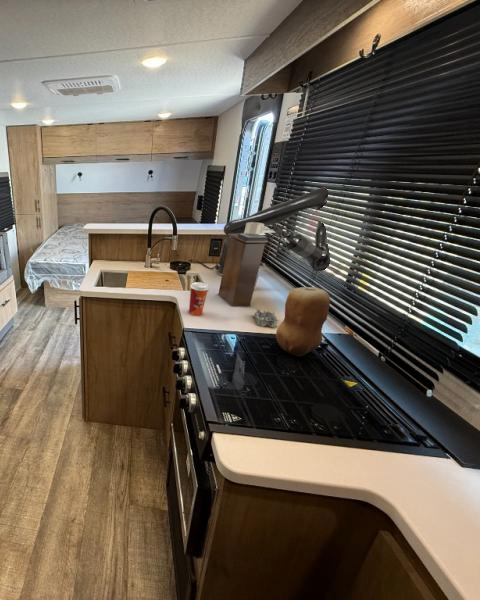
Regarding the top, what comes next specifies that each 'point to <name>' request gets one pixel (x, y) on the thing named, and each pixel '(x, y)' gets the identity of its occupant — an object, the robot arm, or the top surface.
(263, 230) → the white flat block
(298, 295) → the butternut squash
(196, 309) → the paper cup
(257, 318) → the grey knobbly lump
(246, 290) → the pedestal
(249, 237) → the scale
